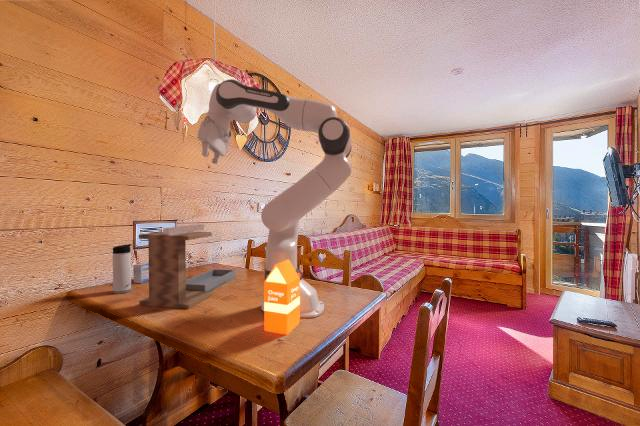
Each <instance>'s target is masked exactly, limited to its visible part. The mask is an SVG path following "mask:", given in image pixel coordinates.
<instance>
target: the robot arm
mask: <svg viewBox="0 0 640 426" xmlns="http://www.w3.org/2000/svg"><path fill="white" fill-rule="evenodd" d="M209 98H210V99H209V101H208V103H209V104H208V111H207V113H206V116H204V119H203V120H202V121H201V122H200V124H199V128H198V131H197V139H198V140H199V141H200V142H201V148H202V149H201V151H202V152H201V156H203V157H204V158H208V157H209V153H210V151H209V150H211V151H212V152H213V153H214V155H213V158H212V160H211V163H212V164H213V165H218V162H219V160H220V158H221V157H225V156H226V155H227V152H228V149H229V146H230V145H229V144H230V140H231V139H232V132H231V126H230V125H231V121H235V122H239V123H243V124H247V123H250V122H251V121H253V120H254V119H255V117H256V115H257V112H258V109H262V110H266V111H268V112H269V113H271V114H273V115H274V116H276V117H277V118H278V119H279V120H280V121H281V122H282V123H283V124H284V125H285V126H287V127H289V128H291V129H292V130H293V129H294V130H297V131H303V132H312V133H315V134H317V137H318V141H319V144H320V148H321V149H322V151H323V153H324V157H323V159H322V161H320V163H318V164H317V165H315V166H314V168H312V169H311V170H310V171H308V172H307V173H306V174H305V175H304V176H303V177H301V178H300V179H299V180H297V181H296V182H295V183H294V184H292V185H291V186H289V187H288V188H286V189H284V190H283V191H282V192H281V193H280V194H278V195H277V196H276V197H274V198H273V199H271V200H270V201H269V202H267V203H266V204H264V207H263V209H262V210H261V212H260V213H261V214H260V215H261V216H260V218H261V222H262V224H263V226H265V227H266V228H267V230H268V237H267V242H266V247H265V269H264V275H263V277H264V281H265V280H266V279H267V277H268V276H269V274H270V272H271V271H272V269H273V268H274V266H275V265H276V264H278V263H280V262H283V261H285V260H288V259H289V261H290V262H291V264H292V266H293V267H294V269H295V271H296V272H297V274H298V276H299V277H300V318H317V317H318V316H320V315H322V314H323V312H324V310H325V304H324V302H323V301H322V300H319V298H318V297H319V296H318V292H317V289H316V288H315V287H313V285H311V284H309V283H308V282H307V281H305V280H304V279H303V273H304V270H303V269H301V270H300V269H299V268H298V240H299V238H298V237H299V226H300V224H299V223H300V220H301V219H302V218H304V217H305V216H306V215H307V214H309V213H310V212H311V211H313V210H314V209H315V208H317V207H318V206H319V205H320V204H322V203H323V202H324V201H325V200H326V199H328V198H329V197H330V196H331V195H332V194H334V193H335V192H336V191H337V190H338V189H339V188H340V187H341V186H342V185H343V184H344V183H345V182H346V181H347V180H348V178H349V177H350V176H351V175H352V171H353V169H352V165H351V163H350V161H349V159H348V157H349V156H350V154H351V152H352V135H351V130H350V127H349V125H348V124H347V122H346V121H345V120H343V119H342V118H340V117H338V115H337V114H338V113H337V110H336V108H335V107H334V106H333V105H332V104H330V103H327V102H323V101H318V100H314V99H307V98H300V97H294V96H291V95H287V94H284V93H280V92H277V91H273V90H267V89H264V88H263V89H262V88H258V87H253V86H248V85H246V84H242V83H241V82H239V81H238V80H236V79H226V80H224V81H223V80H222V82H221V83H218V84H215V86H214V88H213V89H212V91H211V94H210V97H209ZM261 304H262V305H261V311H263V313H264V299H263V300H262V303H261Z"/></svg>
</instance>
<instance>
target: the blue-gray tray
mask: <svg viewBox="0 0 640 426" xmlns="http://www.w3.org/2000/svg"><path fill="white" fill-rule="evenodd" d="M236 278H237V270H236V269H224V268H223V269H220V268H218V269H217V268H212V269H210V270H208V271H205V272H202V273H200V274H198V275H197V274H196V275H195V276H192V277H190V278H187V279H186V290H189V291H206V292H213V291H214V290H216V289H218V288H219V287H221V286H223V285H225V284H226V283H228V282H230V281H232V280H234V279H236Z"/></svg>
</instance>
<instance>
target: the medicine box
mask: <svg viewBox="0 0 640 426" xmlns="http://www.w3.org/2000/svg"><path fill="white" fill-rule="evenodd" d="M132 266H133V267H132V268H133V269H132V270H133V273H132V274H133V284H134V283H135V284H143V283H147V282H149V261H146V262H142V263H138V264H133V265H132Z"/></svg>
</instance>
